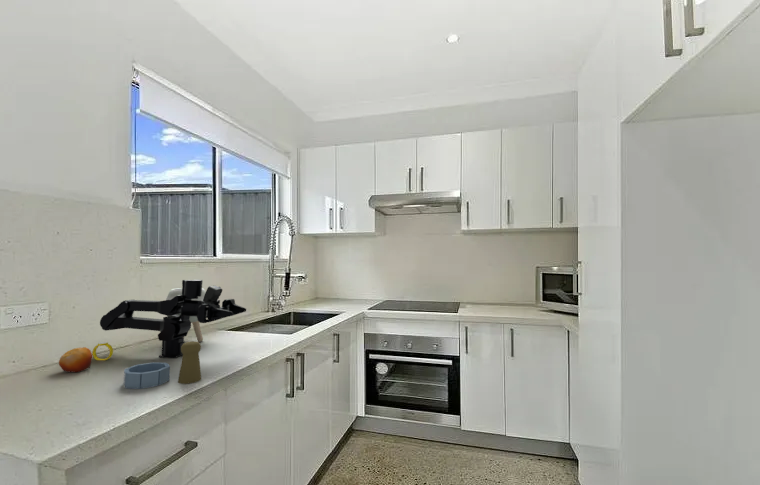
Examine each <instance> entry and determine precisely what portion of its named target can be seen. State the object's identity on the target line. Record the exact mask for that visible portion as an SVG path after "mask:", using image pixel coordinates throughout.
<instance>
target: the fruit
mask: <svg viewBox="0 0 760 485" xmlns="http://www.w3.org/2000/svg"><path fill="white" fill-rule="evenodd" d="M92 360H93V355H92V351H91V349H90V348H87V347H86V346H85V347H84V346H83V347H76V348H72V349H70V350H67V351H66V352H65V353H63V354H62V355H61V357H60V358H59V360H58V365H59V367H60V368H61V369H62V370H63V371H64V372H66V373H81V372H84V371H86V370H88V369H91V365H92Z"/></svg>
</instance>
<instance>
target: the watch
mask: <svg viewBox="0 0 760 485" xmlns="http://www.w3.org/2000/svg"><path fill="white" fill-rule="evenodd" d="M101 346H102V347H104V346H105V347H107V348H108V350H109V354H108V356H107V357H106V358H99V357H98V356H97V349H98V348H99V347H101ZM91 353H92V359H94V360H96V361H107V360H109V359H111V358H112V356H113V354H114V348H113V347H112V345H111V344H109V342H108V341H104V342H103V341H101V342H98V343H97V344H96V345H95V346H94V347H93V349H92V351H91Z"/></svg>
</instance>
